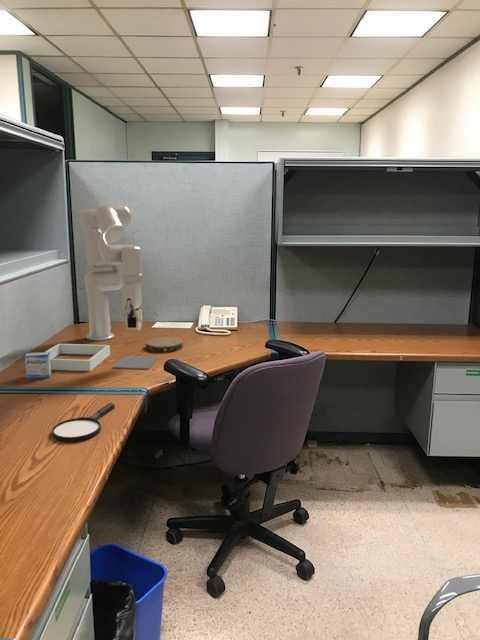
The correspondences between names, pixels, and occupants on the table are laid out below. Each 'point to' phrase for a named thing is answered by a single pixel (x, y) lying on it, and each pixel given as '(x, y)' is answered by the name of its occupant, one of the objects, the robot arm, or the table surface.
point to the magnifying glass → (80, 427)
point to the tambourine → (164, 344)
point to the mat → (135, 363)
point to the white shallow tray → (78, 365)
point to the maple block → (138, 320)
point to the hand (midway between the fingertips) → (134, 325)
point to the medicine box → (37, 365)
